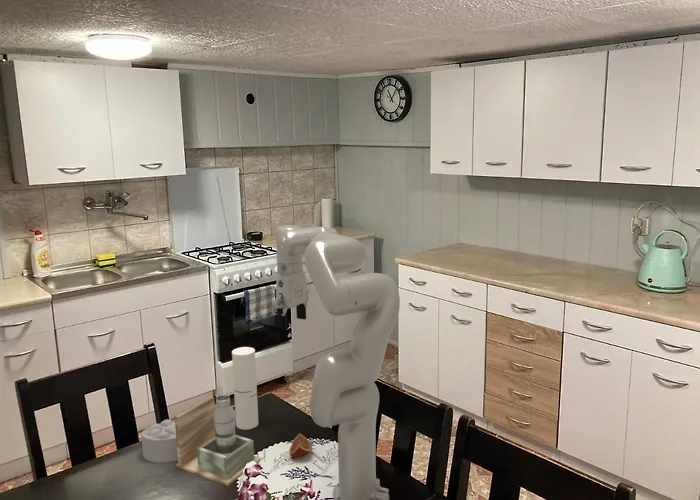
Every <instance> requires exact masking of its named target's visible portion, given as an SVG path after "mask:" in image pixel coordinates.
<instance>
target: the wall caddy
mask: <svg viewBox="0 0 700 500" xmlns="http://www.w3.org/2000/svg"><path fill="white" fill-rule="evenodd" d="M215 409H216V400H215V397H214V396H211V395H210V396H207V397H206V398H204V399H203V400H201V401H199V402H197V403H196V404H193V405H192V406H190V407H188V408H186V409H184V410H183V411H181V412H179V413H177V414H174V416H173V417H174V422H175V429H176V441H177V454H178V461H177V463H176V464H175V467H176V468H178V469H181V470H184V471H186V472H189V473H192V474H194V475H197V476H200V477H202V478H205V479H208V480H211V481H213V482H216V483H217V484H221V485H224V486H226V487H228V486H230V485H231V484H232V483H233V482H235V481H236V480H237V479H238V478H240V477H241V476H242V475H243V474H242V473H243V470H244V468H245V466H246V464H247V463H249V462H251V461H254V462H258V461H259V462H261V461H260V460H261V457H259V456H256V455H255V449H254V448H255V447H254V443H255V442H254V440H253V439H251V438H247V437H244V436H242V435H237V434H235V438H236V444H237V448H238V449H236V450H235V451H233V452H232V453H231V454H229V455H228V456H224V455H221V454H218V453H216V452H215V450H216V437H215V429H214V425H213V421H212V414H213V412H214V410H215ZM259 462H258V463H259Z"/></svg>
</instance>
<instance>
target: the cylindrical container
mask: <svg viewBox="0 0 700 500" xmlns="http://www.w3.org/2000/svg"><path fill="white" fill-rule="evenodd" d="M231 359H232V360H231V361H232V375H233V392H234V394H233V396H234V411H235V413H236V422H235V427H236V428H237V429H239V430H251V429H254V428H257V426H258V425H259V408H258V387H257V369H256V349H255V348H254V347H250V346H241V347H237V348H234V349H233V350H232V351H231Z"/></svg>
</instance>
